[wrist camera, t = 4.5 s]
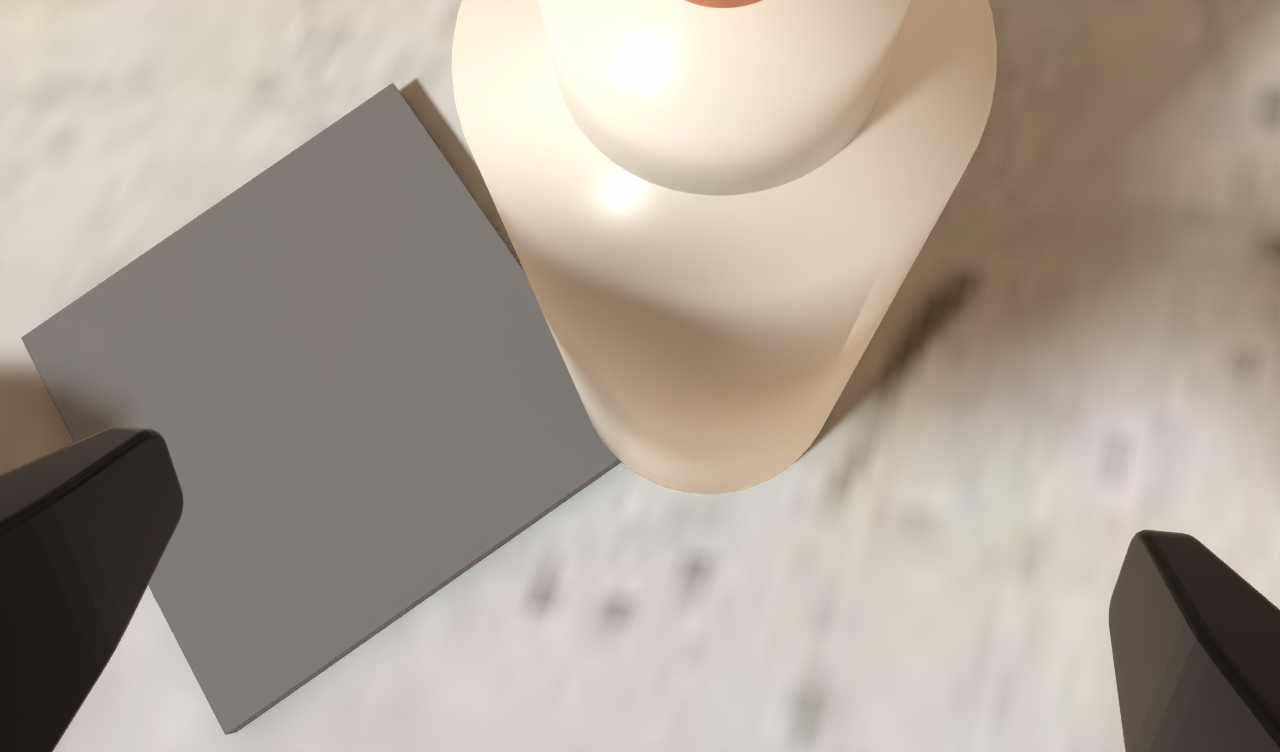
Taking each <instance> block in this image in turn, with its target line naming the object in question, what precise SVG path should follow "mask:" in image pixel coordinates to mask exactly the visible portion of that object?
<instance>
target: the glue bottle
mask: <svg viewBox="0 0 1280 752" xmlns="http://www.w3.org/2000/svg"><path fill="white" fill-rule="evenodd" d="M996 72H997V42H996V35H995V27H994V19H993V14H992V10H991V7H990V3H989V0H462V2H461V5H460V8H459V11H458V17H457V22H456V27H455V32H454V38H453V53H452V78H453V87H454V96H455V103H456V107H457V111H458V115H459V119H460V122H461V126H462V130H463V133H464V135H465V138H466V140H467V142H468V145H469V147H470V149H471V152H472V154H473V156H474V159H475V161H476V163H477V166H478V168H479V170H480V172H481V175H482V177H483V179H484V181H485V184H486V186H487V188H488V190H489V193H490V195H491V197H492V199H493V202H494V204H495V206H496V209H497V211H498V213H499V215H500V218H501V220H502V222H503V224H504V227H505V229H506V231H507V233H508V236H509V238H510V240H511V242H512V245H513V247H514V249H515V251H516V254H517V256H518V258H519V260H520V263H521V265H522V267H523V269H524V272H525V274H526V276H527V278H528V281H529V283H530V285H531V288H532V290H533V292H534V294H535V297H536V299H537V301H538V303H539V306H540V308H541V310H542V312H543V315H544V317H545V319H546V321H547V324H548V326H549V328H550V330H551V333H552V335H553V337H554V339H555V342H556V344H557V346H558V348H559V351H560V353H561V355H562V358H563V360H564V362H565V364H566V367H567V369H568V371H569V373H570V376H571V378H572V380H573V382H574V385H575V387H576V389H577V391H578V394H579V396H580V398H581V400H582V403H583V405H584V407H585V409H586V412H587V414H588V416H589V418H590V421H591V423H592V425H593V427H594V428H595V430H596V432H597V433H598V435H599V437H600V438H601V440H602V441H603V442H604V444H605V445H606V446H607V447H608V449H609V450H610V451H611V452H612V453H613V454H614V455H615V456H616V457H617V458H618V459H619V460H620V461H621V462H622V463H623V464H625V465H626V466H627V467H629V468H630V469H632V470H633V471H634V472H636V473H637V474H639V475H641V476H642V477H644V478H646V479H648V480H650V481H652V482H654V483H657V484H659V485H662V486H664V487H667V488H670V489H674V490H679V491H683V492H689V493H698V494H721V493H727V492H734V491H739V490H742V489H746V488H749V487H753V486H755V485H758V484H760V483H762V482H764V481H767V480H769V479H771V478H772V477H774V476H776V475H777V474H779V473H781V472H782V471H784V470H785V469H787V468H788V467H789V466H790V465H792V464H793V463H794V462H795V461H796V460H798V459H799V458H800V457H801V455H802V454H803V453H804V452H805V451H806V450H807V449H808V448H809V447H810V446H811V444H812V443H813V441H814V440H815V439H816V437H817V436H818V434H819V433H820V431H821V429H822V427H823V426H824V424H825V422H826V420H827V418H828V417H829V415H830V413H831V411H832V409H833V408H834V406H835V404H836V402H837V400H838V399H839V397H840V395H841V393H842V391H843V390H844V388H845V386H846V384H847V382H848V381H849V379H850V377H851V375H852V373H853V371H854V370H855V368H856V366H857V364H858V362H859V361H860V359H861V357H862V355H863V353H864V352H865V350H866V348H867V346H868V344H869V343H870V341H871V339H872V337H873V335H874V334H875V332H876V330H877V328H878V326H879V325H880V323H881V321H882V319H883V317H884V316H885V314H886V312H887V310H888V308H889V307H890V305H891V303H892V301H893V299H894V298H895V296H896V294H897V292H898V290H899V289H900V287H901V285H902V283H903V281H904V280H905V278H906V276H907V274H908V272H909V271H910V269H911V267H912V265H913V263H914V262H915V260H916V258H917V256H918V254H919V253H920V251H921V249H922V247H923V245H924V244H925V242H926V240H927V238H928V236H929V235H930V233H931V231H932V229H933V227H934V226H935V224H936V222H937V220H938V218H939V217H940V215H941V213H942V211H943V209H944V207H945V206H946V204H947V202H948V200H949V198H950V197H951V195H952V193H953V191H954V189H955V188H956V186H957V184H958V182H959V180H960V179H961V177H962V175H963V173H964V171H965V170H966V168H967V166H968V164H969V162H970V160H971V158H972V156H973V154H974V152H975V150H976V148H977V146H978V144H979V142H980V140H981V137H982V134H983V131H984V128H985V126H986V123H987V120H988V117H989V114H990V111H991V106H992V100H993V95H994V89H995V83H996Z"/></svg>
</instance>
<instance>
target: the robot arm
mask: <svg viewBox="0 0 1280 752" xmlns="http://www.w3.org/2000/svg"><path fill="white" fill-rule="evenodd" d="M183 504H184V500H183V492H182V489H181V486H180V483H179V480H178V477H177V474H176V471H175V468H174V465H173V462H172V459H171V456H170V453H169V450H168V447H167V444H166V442H165V440H164V438H163V437H162V436H161V434H160V433H159V432H157V431H155V430H153V429H147V428H137V427H128V426H116V427H112V428H109V429H106V430H104V431H102V432H99V433H97V434H95V435H92V436H90V437H88V438H85V439H83V440H81V441H78V442H76V443H74V444H71V445H69V446H67V447H64V448H62V449H60V450H57V451H55V452H53V453H50V454H48V455H46V456H43V457H41V458H39V459H37V460H34V461H32V462H30V463H27V464H25V465H23V466H20V467H18V468H16V469H13V470H11V471H9V472H6V473H4V474H2V475H0V752H53V750H54V749H55V747H56V746H57V744H58V742H59V741H60V739H61V737H62V736H63V734H64V733H65V731H66V729H67V728H68V726H69V725H70V723H71V721H72V720H73V718H74V717H75V715H76V713H77V712H78V710H79V709H80V707H81V705H82V704H83V702H84V701H85V699H86V697H87V696H88V694H89V693H90V691H91V689H92V688H93V686H94V685H95V683H96V681H97V680H98V678H99V677H100V675H101V673H102V672H103V670H104V668H105V667H106V665H107V663H108V662H109V660H110V658H111V657H112V655H113V653H114V651H115V650H116V648H117V646H118V644H119V642H120V640H121V638H122V636H123V634H124V632H125V631H126V629H127V627H128V625H129V623H130V621H131V619H132V617H133V615H134V612H135V610H136V608H137V606H138V604H139V602H140V600H141V598H142V596H143V594H144V592H145V590H146V588H147V586H148V584H149V582H150V580H151V578H152V576H153V574H154V572H155V570H156V568H157V566H158V564H159V562H160V560H161V558H162V556H163V554H164V552H165V549H166V547H167V545H168V543H169V541H170V539H171V537H172V535H173V533H174V531H175V529H176V527H177V525H178V523H179V521H180V518H181V515H182V511H183ZM1109 629H1110V637H1111V645H1112V652H1113V660H1114V667H1115V675H1116V683H1117V690H1118V698H1119V705H1120V713H1121V721H1122V728H1123V736H1124V743H1125V751H1126V752H1280V610H1279V609H1278V608H1277V607H1276V606H1275V605H1274V604H1272V603H1271V602H1270V601H1269V600H1268V599H1266V598H1265V597H1264V596H1263V595H1262V594H1261V593H1259V592H1258V591H1257V590H1256V589H1255V588H1254V587H1252V586H1251V585H1250V584H1249V583H1248V582H1247V581H1245V580H1244V579H1243V578H1242V577H1241V576H1239V575H1238V574H1237V573H1236V572H1235V571H1234V570H1232V569H1231V568H1230V567H1229V566H1228V565H1227V564H1225V563H1224V562H1223V561H1222V560H1221V559H1220V558H1218V557H1217V556H1216V555H1215V554H1214V553H1213V552H1211V551H1210V550H1209V549H1208V548H1207V547H1205V546H1204V545H1203V544H1202V543H1201V542H1200V541H1198V540H1197V539H1195V538H1194V537H1193V536H1190V535H1188V534H1183V533H1174V532H1165V531H1155V530H1143V531H1140V532H1138V533H1136V535H1135V536H1134V537H1133V539H1132V540H1131V543H1130V545H1129V548H1128V551H1127V554H1126V556H1125V559H1124V562H1123V565H1122V568H1121V571H1120V574H1119V577H1118V580H1117V583H1116V585H1115V588H1114V591H1113V594H1112V597H1111V601H1110V607H1109Z"/></svg>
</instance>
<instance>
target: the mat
mask: <svg viewBox="0 0 1280 752" xmlns="http://www.w3.org/2000/svg"><path fill="white" fill-rule="evenodd" d="M21 339H22V341H23V342H24V344H25V346H26V348H27V350H28V352H29V354H30V356H31V358H32V360H33V362H34V364H35V366H36V368H37V370H38V372H39V374H40V376H41V377H42V379H43V381H44V383H45V385H46V387H47V389H48V391H49V393H50V395H51V397H52V399H53V401H54V403H55V405H56V407H57V409H58V410H59V412H60V414H61V416H62V418H63V420H64V422H65V424H66V426H67V428H68V430H69V432H70V434H71V436H72V438H73V440H74V442H75V443H76V442H78V441H81V440H83V439H85V438H88V437H90V436H92V435H95V434H97V433H99V432H102V431H104V430H106V429H109V428H112V427H116V426H128V427H137V428H147V429H153V430H155V431H157V432H159V433H160V434H161V436H162V437H163V438H164V440H165V442H166V444H167V447H168V450H169V453H170V456H171V459H172V462H173V465H174V468H175V471H176V474H177V477H178V480H179V483H180V486H181V489H182V492H183V500H184V504H183V511H182V515H181V518H180V521H179V523H178V525H177V527H176V529H175V531H174V533H173V535H172V537H171V539H170V541H169V543H168V545H167V547H166V549H165V552H164V554H163V556H162V558H161V560H160V562H159V564H158V566H157V568H156V570H155V572H154V574H153V576H152V578H151V580H150V582H149V584H148V585H149V587H150V589H151V591H152V593H153V595H154V597H155V599H156V601H157V603H158V605H159V607H160V609H161V611H162V613H163V615H164V617H165V618H166V620H167V622H168V624H169V626H170V628H171V630H172V632H173V634H174V636H175V638H176V640H177V642H178V644H179V646H180V648H181V650H182V652H183V653H184V655H185V657H186V659H187V661H188V663H189V665H190V667H191V669H192V671H193V673H194V675H195V677H196V679H197V681H198V683H199V685H200V687H201V688H202V690H203V692H204V694H205V696H206V698H207V700H208V702H209V704H210V706H211V708H212V710H213V712H214V714H215V716H216V718H217V720H218V722H219V723H220V725H221V727H222V729H223V731H224V733H225V735H226V734H231V733H235V732H237V731H238V730H240V729H241V728H243V727H244V726H246V725H247V724H248V723H250V722H251V721H253V720H254V719H255V718H257V717H258V716H260V715H261V714H263V713H264V712H265V711H267V710H268V709H270V708H271V707H273V706H274V705H275V704H277V703H278V702H280V701H281V700H283V699H284V698H285V697H287V696H288V695H290V694H291V693H293V692H294V691H295V690H297V689H298V688H300V687H301V686H303V685H304V684H305V683H307V682H308V681H310V680H311V679H312V678H314V677H315V676H317V675H318V674H320V673H321V672H322V671H324V670H325V669H327V668H328V667H330V666H331V665H332V664H334V663H335V662H337V661H338V660H340V659H341V658H342V657H344V656H345V655H347V654H348V653H350V652H351V651H352V650H354V649H355V648H357V647H358V646H360V645H361V644H362V643H364V642H365V641H367V640H368V639H369V638H371V637H372V636H374V635H375V634H377V633H378V632H379V631H381V630H382V629H384V628H385V627H387V626H388V625H389V624H391V623H392V622H394V621H395V620H397V619H398V618H399V617H401V616H402V615H404V614H405V613H407V612H408V611H409V610H411V609H412V608H414V607H415V606H417V605H418V604H419V603H421V602H422V601H424V600H425V599H426V598H428V597H429V596H431V595H432V594H434V593H435V592H436V591H438V590H439V589H441V588H442V587H444V586H445V585H446V584H448V583H449V582H451V581H452V580H454V579H455V578H456V577H458V576H459V575H461V574H462V573H464V572H465V571H466V570H468V569H469V568H471V567H472V566H474V565H475V564H476V563H478V562H479V561H481V560H482V559H483V558H485V557H486V556H488V555H489V554H491V553H492V552H493V551H495V550H496V549H498V548H499V547H501V546H502V545H503V544H505V543H506V542H508V541H509V540H511V539H512V538H513V537H515V536H516V535H518V534H519V533H521V532H522V531H523V530H525V529H526V528H528V527H529V526H531V525H532V524H533V523H535V522H536V521H538V520H539V519H540V518H542V517H543V516H545V515H546V514H548V513H549V512H550V511H552V510H553V509H555V508H556V507H558V506H559V505H560V504H562V503H563V502H565V501H566V500H568V499H569V498H570V497H572V496H573V495H575V494H576V493H578V492H579V491H580V490H582V489H583V488H585V487H586V486H588V485H589V484H590V483H592V482H593V481H595V480H596V479H597V478H599V477H600V476H602V475H603V474H605V473H606V472H607V471H609V470H610V469H612V468H613V467H615V466H616V465H617V464H619V463H620V462H621V461H620V460H619V459H618V458H617V457H616V456H615V455H614V454H613V453H612V452H611V451H610V450H609V449H608V447H607V446H606V445H605V444H604V442H603V441H602V440H601V438H600V437H599V435H598V433H597V432H596V430H595V428H594V427H593V425H592V423H591V421H590V418H589V416H588V414H587V412H586V409H585V407H584V405H583V403H582V400H581V398H580V396H579V394H578V391H577V389H576V387H575V385H574V382H573V380H572V378H571V376H570V373H569V371H568V369H567V367H566V364H565V362H564V360H563V358H562V355H561V353H560V351H559V348H558V346H557V344H556V342H555V339H554V337H553V335H552V333H551V330H550V328H549V326H548V324H547V321H546V319H545V317H544V315H543V312H542V310H541V308H540V306H539V303H538V301H537V299H536V297H535V294H534V292H533V290H532V288H531V285H530V283H529V281H528V278H527V276H526V274H525V272H524V270H523V269H522V267H521V266H520V265H519V263H518V262H517V260H516V259H515V257H514V256H513V254H512V253H511V252H510V250H509V249H508V247H507V246H506V244H505V243H504V242H503V240H502V239H501V237H500V236H499V234H498V233H497V231H496V230H495V229H494V227H493V226H492V224H491V223H490V221H489V220H488V218H487V217H486V216H485V214H484V213H483V211H482V210H481V208H480V207H479V206H478V204H477V203H476V201H475V200H474V198H473V197H472V195H471V194H470V193H469V191H468V190H467V188H466V187H465V185H464V184H463V183H462V181H461V180H460V178H459V177H458V175H457V174H456V172H455V171H454V170H453V168H452V167H451V165H450V164H449V162H448V161H447V159H446V158H445V157H444V155H443V154H442V152H441V151H440V149H439V148H438V147H437V145H436V144H435V142H434V141H433V139H432V138H431V136H430V135H429V134H428V132H427V131H426V129H425V128H424V126H423V125H422V124H421V122H420V121H419V119H418V118H417V116H416V115H415V113H414V112H413V111H412V109H411V108H410V106H409V105H408V103H407V102H406V101H405V99H404V98H403V96H402V95H401V93H400V92H399V90H398V89H397V88H396V86H395V85H394V84H393V83H392V84H390V85H389V86H388V87H386V88H385V89H383V90H382V91H380V92H379V93H377V94H376V95H374V96H373V97H372V98H370V99H369V100H367V101H366V102H364V103H363V104H361V105H360V106H358V107H357V108H355V109H354V110H353V111H351V112H350V113H348V114H347V115H345V116H344V117H342V118H341V119H339V120H338V121H337V122H335V123H334V124H332V125H331V126H329V127H328V128H326V129H325V130H323V131H322V132H320V133H319V134H318V135H316V136H315V137H313V138H312V139H310V140H309V141H307V142H306V143H304V144H303V145H302V146H300V147H299V148H297V149H296V150H294V151H293V152H291V153H290V154H288V155H287V156H285V157H284V158H283V159H281V160H280V161H278V162H277V163H275V164H274V165H272V166H271V167H269V168H268V169H267V170H265V171H264V172H262V173H261V174H259V175H258V176H256V177H255V178H253V179H252V180H251V181H249V182H248V183H246V184H245V185H243V186H242V187H240V188H239V189H237V190H236V191H234V192H233V193H232V194H230V195H229V196H227V197H226V198H224V199H223V200H221V201H220V202H218V203H217V204H216V205H214V206H213V207H211V208H210V209H208V210H207V211H205V212H204V213H202V214H201V215H199V216H198V217H197V218H195V219H194V220H192V221H191V222H189V223H188V224H186V225H185V226H183V227H182V228H181V229H179V230H178V231H176V232H175V233H173V234H172V235H170V236H169V237H167V238H166V239H165V240H163V241H162V242H160V243H159V244H157V245H156V246H154V247H153V248H151V249H150V250H148V251H147V252H146V253H144V254H143V255H141V256H140V257H138V258H137V259H135V260H134V261H132V262H131V263H130V264H128V265H127V266H125V267H124V268H122V269H121V270H119V271H118V272H116V273H115V274H113V275H112V276H111V277H109V278H108V279H106V280H105V281H103V282H102V283H100V284H99V285H97V286H96V287H95V288H93V289H92V290H90V291H89V292H87V293H86V294H84V295H83V296H81V297H80V298H79V299H77V300H76V301H74V302H73V303H71V304H70V305H68V306H67V307H65V308H64V309H62V310H61V311H60V312H58V313H57V314H55V315H54V316H52V317H51V318H49V319H48V320H46V321H45V322H44V323H42V324H41V325H39V326H38V327H36V328H35V329H33V330H32V331H30V332H29V333H27V334H26V335H25V336H23V337H22V338H21Z"/></svg>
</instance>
